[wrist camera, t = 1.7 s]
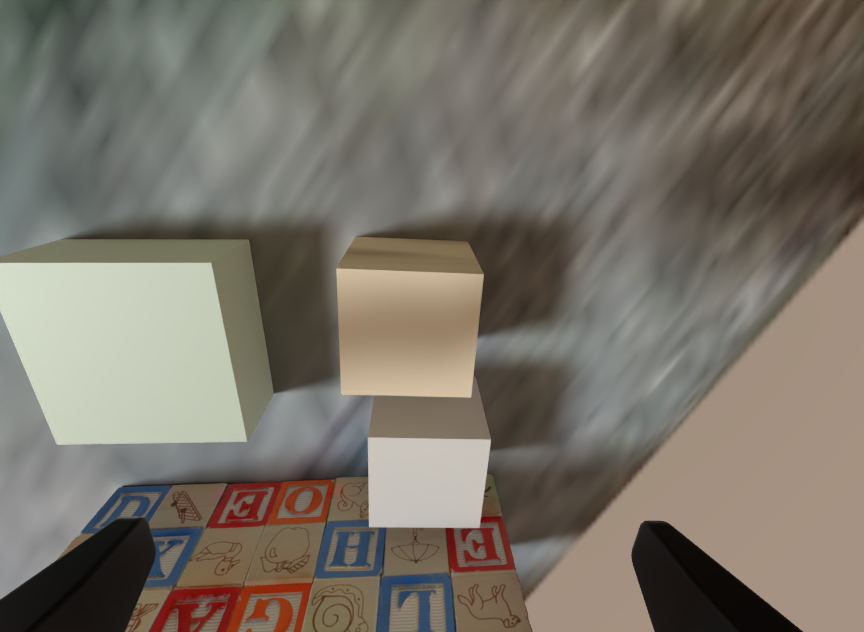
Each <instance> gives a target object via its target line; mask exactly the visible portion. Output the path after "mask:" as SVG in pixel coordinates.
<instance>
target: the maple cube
mask: <svg viewBox="0 0 864 632" xmlns="http://www.w3.org/2000/svg"><path fill="white" fill-rule="evenodd" d="M336 270H337V297H338V323H339V349H340V376H341V394H344V395H386V396H427V397H468V398H471V394H472V384H473V375H474V365H475V355H476V346H477V336H478V327H479V317H480V307H481V298H482V288H483V278H484V273H483V271H482V269H481V267H480V265H479V263H478V261H477V259H476V257H475V255H474V253H473V251H472V249H471V247H470V245H469V243H468V241H447V240H424V239H400V238H377V237H355V239H354V240H353V242H352V243H351V245H350V247H349V248H348V250H347V252H346V253H345V255H344V257H343V258H342V260H341V262H340V263H339V265H338V267H337V268H336Z"/></svg>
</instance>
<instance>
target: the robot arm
mask: <svg viewBox="0 0 864 632" xmlns="http://www.w3.org/2000/svg"><path fill="white" fill-rule="evenodd" d="M155 557H156V546H155V543H154V539H153V536H152V533H151V529H150V526H149V522H148V520H147V519H146V518H145V517H139V516H124V517H119V518H117V519H115V520H114V521H112V522H111V523H109V524H108V525H106V526H105V527H104V528H102V529H101V530H99V531H98V532H96V533H95V534H94V535H92V536H91V537H89V538H88V539H86V540H85V541H84V542H82V543H81V544H79V545H78V546H76V547H75V548H73V549H72V550H71V551H69V552H68V553H66V554H65V555H63V556H62V557H61V558H59V559H58V560H56V561H55V562H53V563H52V564H51V565H49V566H48V567H46V568H45V569H43V570H42V571H41V572H39V573H38V574H36V575H35V576H33V577H32V578H31V579H29V580H28V581H26V582H25V583H23V584H22V585H20V586H19V587H18V588H16V589H15V590H13V591H12V592H10V593H9V594H8V595H6V596H5V597H3V598H2V599H0V632H125V631H126V629H127V626H128V624H129V621H130V619H131V617H132V614H133V612H134V609H135V607H136V605H137V602H138V600H139V597H140V595H141V593H142V590H143V588H144V585H145V583H146V581H147V578H148V576H149V574H150V571H151V569H152V566H153V564H154V561H155ZM632 562H633V566H634V569H635V572H636V575H637V578H638V582H639V585H640V588H641V591H642V594H643V597H644V600H645V603H646V606H647V609H648V613H649V615H650V619H651V622H652V625H653V628H654V631H655V632H803V631H802V630H800V629H799V628H798V627H797V626H795V625H794V624H793V623H791V622H790V621H789V620H788V619H787V618H786V617H784V616H783V615H782V614H781V613H779V612H778V611H777V610H776V609H774V608H773V607H772V606H771V605H769V604H768V603H767V602H766V601H764V600H763V599H762V598H761V597H759V596H758V595H757V594H756V593H754V592H753V591H752V590H751V589H749V588H748V587H747V586H746V585H744V584H743V583H742V582H741V581H740V580H738V579H737V578H736V577H735V576H733V575H732V574H731V573H730V572H729V571H727V570H726V569H725V568H723V567H722V566H721V565H720V564H718V563H717V562H716V561H715V560H714V559H712V558H711V557H710V556H709V555H707V554H706V553H705V552H704V551H702V550H701V549H700V548H699V547H698V546H696V545H695V544H694V543H693V542H691V541H690V540H689V539H688V538H686V537H685V536H684V535H683V534H681V533H680V532H679V531H678V530H676V529H675V528H674V527H673V526H671V525H670V524H669V523H667V522H664V521H644V522H643V523H642V524H641V525H640V528H639V531H638V534H637V537H636V540H635V542H634V545H633V548H632Z"/></svg>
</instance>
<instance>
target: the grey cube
mask: <svg viewBox="0 0 864 632" xmlns="http://www.w3.org/2000/svg"><path fill="white" fill-rule="evenodd" d="M490 445H491V437H490V433H489V429H488V425H487V421H486V417H485V413H484V409H483V405H482V401H481V397H480V393H479V389H478V384H477V380H476V376H473V384H472V394H471V398H468V397H427V396H386V395H375V396H374V403H373V409H372V415H371V422H370V428H369V434H368V488H369V527H404V528H480V520H481V513H482V505H483V498H484V490H485V482H486V475H487V467H488V460H489V452H490Z"/></svg>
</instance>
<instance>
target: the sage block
mask: <svg viewBox="0 0 864 632" xmlns="http://www.w3.org/2000/svg"><path fill="white" fill-rule="evenodd" d="M0 311H1V314H2V316H3V318H4V321H5V323H6V325H7V328H8V330H9V333H10V335H11V337H12V340H13V342H14V344H15V347H16V349H17V351H18V354H19V356H20V358H21V361H22V363H23V366H24V368H25V370H26V373H27V375H28V377H29V380H30V382H31V384H32V387H33V389H34V392H35V394H36V396H37V399H38V401H39V403H40V406H41V408H42V410H43V413H44V415H45V417H46V420H47V422H48V425H49V427H50V429H51V432H52V434H53V436H54V439H55V441H56V443H57V445H65V444H129V443H194V442H247V441H248V439H249V438H250V436H251V434H252V432H253V430H254V429H255V427H256V425H257V423H258V421H259V420H260V418H261V416H262V414H263V412H264V411H265V409H266V407H267V405H268V403H269V401H270V400H271V398H272V396H273V394H274V391H273V385H272V379H271V372H270V366H269V360H268V354H267V348H266V342H265V335H264V329H263V323H262V317H261V311H260V305H259V299H258V292H257V286H256V280H255V274H254V268H253V262H252V256H251V249H250V243H249V239H61V240H57V241H54V242H50V243H47V244H43V245H40V246H36V247H33V248H30V249H26V250H23V251H19V252H16V253H12V254H9V255H5V256H2V257H0Z"/></svg>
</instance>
